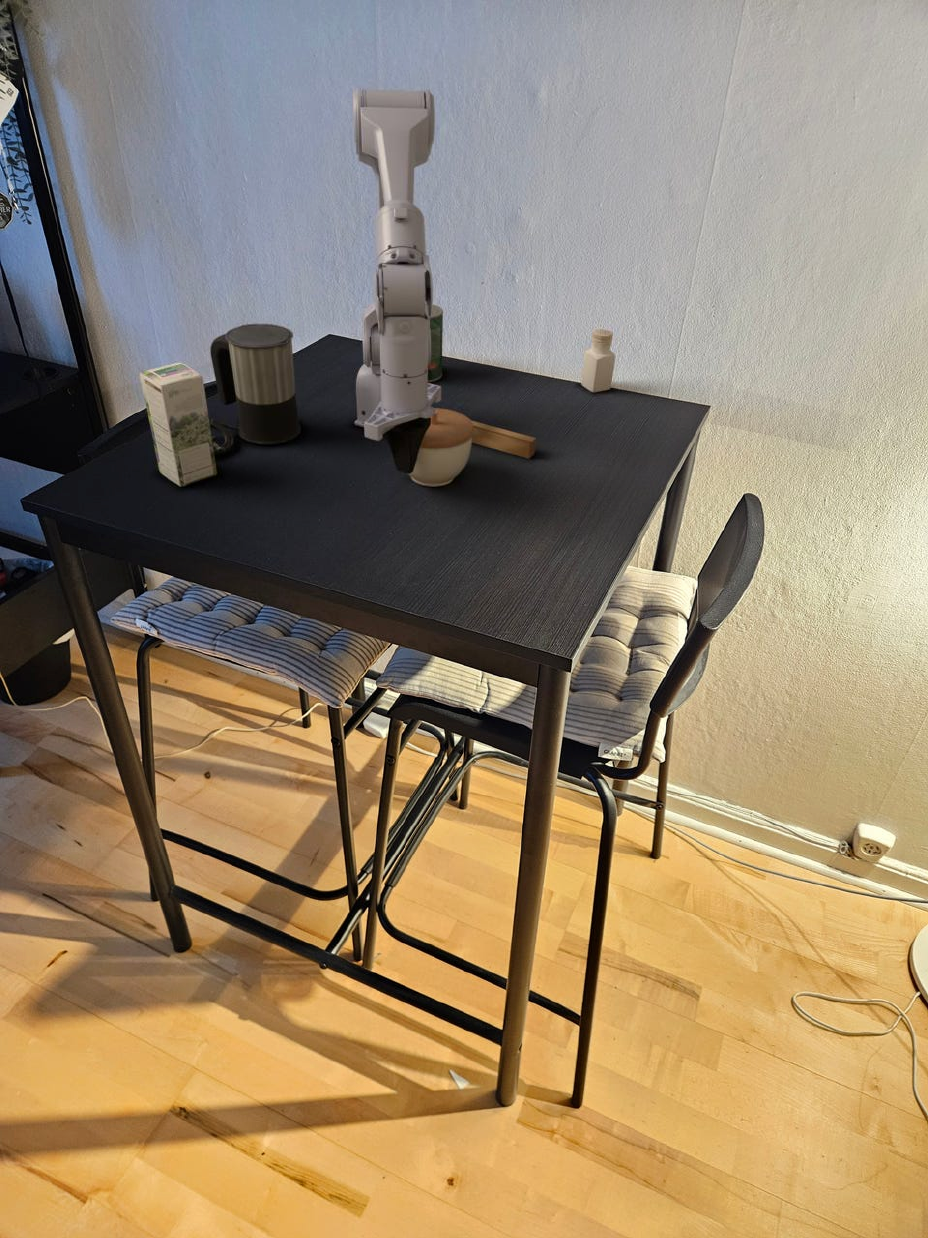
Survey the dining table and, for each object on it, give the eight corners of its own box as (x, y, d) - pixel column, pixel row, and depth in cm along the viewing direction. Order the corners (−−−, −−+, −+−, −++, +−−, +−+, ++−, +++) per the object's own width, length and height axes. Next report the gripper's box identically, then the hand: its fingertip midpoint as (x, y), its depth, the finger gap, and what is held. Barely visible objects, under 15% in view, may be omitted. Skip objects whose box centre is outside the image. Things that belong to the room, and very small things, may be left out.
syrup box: (196, 460, 117) (178, 359, 108) (219, 475, 114) (202, 372, 105) (159, 473, 114) (137, 369, 105) (181, 489, 111) (160, 384, 102)
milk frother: (311, 424, 128) (303, 327, 119) (266, 470, 116) (253, 366, 106) (227, 411, 130) (212, 315, 121) (174, 455, 118) (153, 352, 109)
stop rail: (434, 431, 127) (434, 415, 125) (441, 427, 128) (441, 410, 127) (528, 458, 121) (530, 441, 119) (534, 453, 123) (536, 436, 121)
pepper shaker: (579, 385, 143) (586, 329, 138) (598, 381, 145) (606, 326, 139) (592, 394, 141) (599, 337, 135) (611, 390, 142) (620, 334, 136)
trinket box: (462, 499, 111) (465, 434, 105) (384, 488, 113) (383, 423, 107) (477, 463, 119) (480, 401, 114) (405, 454, 121) (404, 392, 115)
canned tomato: (449, 370, 146) (451, 307, 140) (429, 386, 141) (430, 320, 134) (409, 362, 149) (409, 299, 142) (388, 377, 143) (386, 312, 136)
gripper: (398, 396, 94) (400, 502, 102) (462, 357, 104) (459, 456, 112) (347, 382, 97) (353, 486, 105) (415, 346, 107) (415, 443, 115)
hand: (405, 470), depth 109 cm, fingers closed
